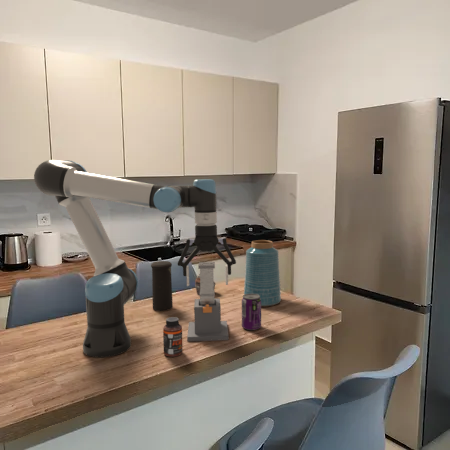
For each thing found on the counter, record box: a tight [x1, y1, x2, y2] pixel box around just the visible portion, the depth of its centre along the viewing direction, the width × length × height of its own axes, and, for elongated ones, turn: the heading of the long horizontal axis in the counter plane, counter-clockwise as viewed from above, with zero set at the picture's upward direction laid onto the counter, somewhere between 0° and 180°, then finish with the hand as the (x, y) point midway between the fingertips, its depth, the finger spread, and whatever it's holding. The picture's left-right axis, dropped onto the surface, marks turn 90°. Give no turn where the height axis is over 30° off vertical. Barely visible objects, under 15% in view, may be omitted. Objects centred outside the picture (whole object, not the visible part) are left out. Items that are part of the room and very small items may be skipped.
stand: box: [186, 298, 229, 342], centre depth 144 cm, size 14×14×12 cm
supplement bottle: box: [162, 316, 183, 358], centre depth 127 cm, size 6×6×11 cm
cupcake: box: [194, 273, 216, 297], centre depth 190 cm, size 10×10×10 cm
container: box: [150, 260, 174, 312], centre depth 170 cm, size 9×9×20 cm
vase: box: [243, 239, 282, 308], centre depth 176 cm, size 16×16×27 cm
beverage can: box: [241, 294, 262, 331], centre depth 148 cm, size 7×7×12 cm
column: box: [198, 261, 216, 306], centre depth 143 cm, size 6×6×23 cm
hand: (207, 284), depth 142 cm, fingers open, 13 cm apart
